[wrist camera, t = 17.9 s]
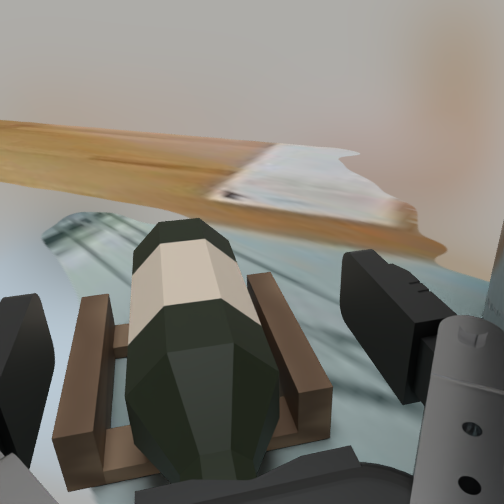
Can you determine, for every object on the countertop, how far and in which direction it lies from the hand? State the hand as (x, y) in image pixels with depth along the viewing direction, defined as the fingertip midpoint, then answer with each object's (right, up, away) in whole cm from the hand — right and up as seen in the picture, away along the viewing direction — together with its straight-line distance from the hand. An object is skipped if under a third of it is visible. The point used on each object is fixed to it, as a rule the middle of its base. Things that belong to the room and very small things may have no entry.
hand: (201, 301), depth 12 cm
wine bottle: (-4, 0, +26) cm, 26 cm away
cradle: (-3, -8, +20) cm, 22 cm away
